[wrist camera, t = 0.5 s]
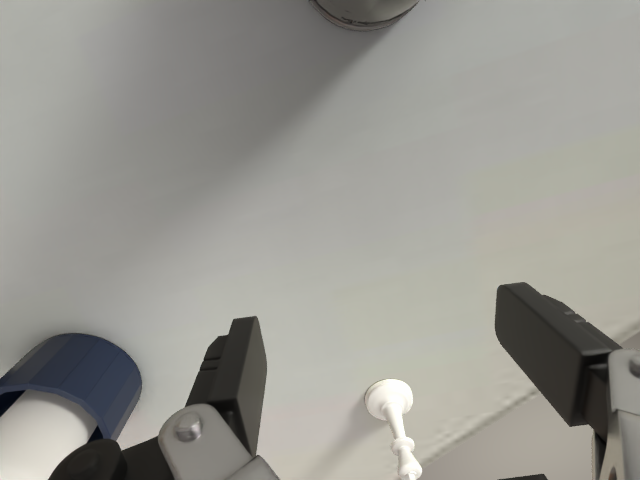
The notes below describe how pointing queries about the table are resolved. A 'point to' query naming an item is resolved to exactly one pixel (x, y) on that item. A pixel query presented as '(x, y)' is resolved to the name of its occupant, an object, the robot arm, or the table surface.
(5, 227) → the table surface
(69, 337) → the pot
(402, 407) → the chess piece
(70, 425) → the can
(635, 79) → the table surface
